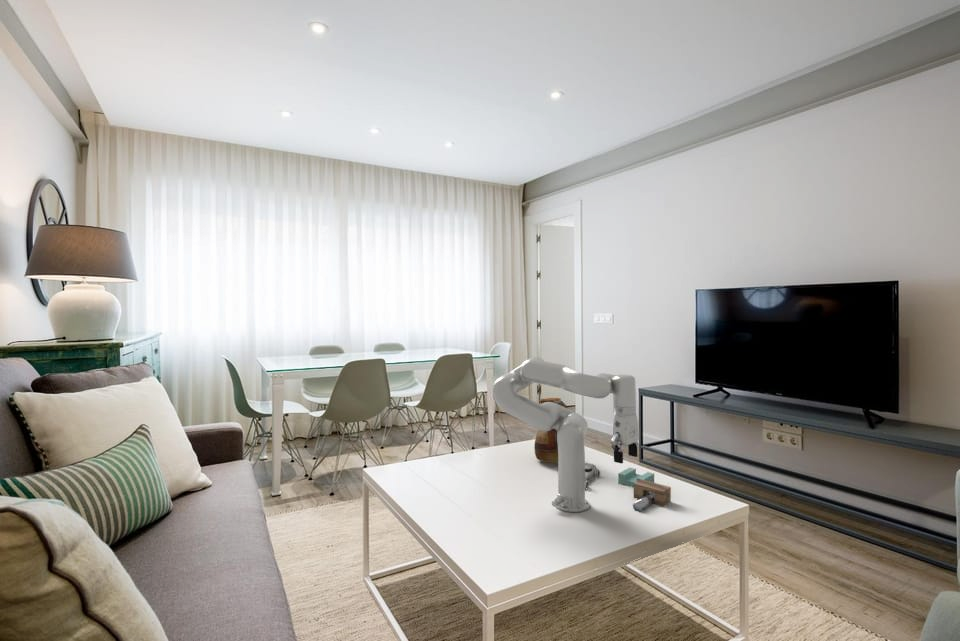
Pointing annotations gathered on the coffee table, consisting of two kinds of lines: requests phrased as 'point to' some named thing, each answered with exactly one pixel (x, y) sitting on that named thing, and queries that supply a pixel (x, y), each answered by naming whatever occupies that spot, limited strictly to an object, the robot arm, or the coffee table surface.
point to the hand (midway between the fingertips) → (625, 459)
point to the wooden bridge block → (653, 491)
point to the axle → (644, 502)
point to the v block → (633, 477)
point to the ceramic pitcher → (547, 439)
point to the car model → (590, 473)
